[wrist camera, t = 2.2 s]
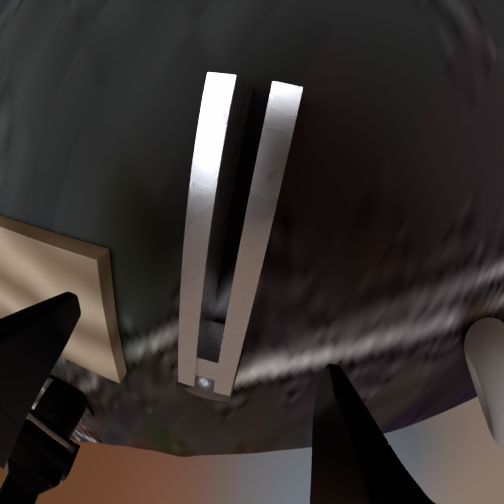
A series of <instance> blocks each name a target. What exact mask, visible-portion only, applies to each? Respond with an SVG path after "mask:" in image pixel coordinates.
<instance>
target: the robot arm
mask: <svg viewBox="0 0 504 504" xmlns="http://www.w3.org/2000/svg"><path fill="white" fill-rule="evenodd" d="M80 316H81V309H80V304H79V300H78V296H77V295H76V294H74V293H72V292H64V293H62V294H59V295H57V296H54V297H52V298H49V299H47V300H44V301H42V302H39V303H37V304H34V305H32V306H29V307H27V308H25V309H22V310H20V311H17V312H15V313H12V314H10V315H8V316H5V317H3V318H0V467H2V468H3V469H4V467H5V472H6V477H5V479H4V481H3V483H2V485H1V487H0V504H35V502H36V499H37V497H38V495H39V494H41V493H43V492H45V491H47V490H49V489H52V488H54V487H56V486H58V485H59V483H60V481H61V480H62V481H64V480H65V479H66V477H67V476H68V474H69V472H70V470H71V468H72V465H73V462H74V460H75V458H76V455H77V453H78V450H79V448H80V445H78V444H77V443H74V442H73V441H72V440H70V437H71V435H72V434H73V432H74V430H75V428H76V426H77V425H78V423H79V421H80V419H81V417H82V416H83V414H86V415H88V416H90V417H93V416H94V414H93V413H92V411H91V409H90V407H89V405H88V403H87V401H86V399H85V397H84V395H83V394H82V393H81V392H80V391H78V390H76V389H74V388H72V387H70V386H68V385H66V384H65V383H63V382H61V381H59V380H57V379H56V378H54V377H52V376H50V375H49V374H50V372H51V371H52V369H53V367H54V366H55V364H56V362H57V360H58V359H59V357H60V355H61V354H62V352H63V350H64V349H65V347H66V345H67V343H68V341H69V338H70V336H71V334H72V332H73V330H74V328H75V326H76V324H77V322H78V320H79V318H80ZM46 380H47V381H48V382H49V384H50V385H49V386H48V388H47V389H46V391H45V392H44V394H43V395H42V396H41V398H40V399H39V402H38V404H37V405H36V407H35V409H34V410H32V409H31V408H32V406H33V404H34V402H35V400H36V398H37V396H38V394H39V392H40V390H41V389H42V387H43V385H44V383H45V381H46ZM27 417H28V418H30V419H31V420H32V421H33V422H34V423H36V424H37V425H38V426H39V427H40V428H42V429H43V430H44V431H45V432H47V433H48V434H49V435H51V436H52V437H53V438H55V439H56V440H57V441H59V442H60V443H61V444H60V443H59V442H57V441H56V440H54V439H53V438H52V437H51V436H49V435H48V434H47V433H45V432H44V431H43V430H41V429H40V428H39V427H38V426H37V425H35V424H34V423H33V422H32V421H31V420H29V419H28V420H27V419H26V418H27ZM62 444H63V445H64V446H66V447H67V448H68V449H67V448H66V447H64V446H63V445H62ZM310 504H435V503H434V502H433V501H431V500H430V499H429V498H428V496H427V495H426V494H425V493H424V492H423V491H422V489H421V488H420V487H419V485H418V484H417V483H416V481H415V480H414V479H413V478H412V476H411V475H410V474H409V473H408V471H407V470H406V469H405V467H404V466H403V464H402V463H401V462H400V460H399V459H398V457H397V455H396V454H395V452H394V451H393V449H392V447H391V446H390V445H389V444H388V441H387V439H386V438H385V436H384V435H383V433H382V431H381V430H380V428H379V427H378V425H377V423H376V422H375V420H374V419H373V417H372V415H371V414H370V412H369V411H368V409H367V407H366V406H365V404H364V403H363V401H362V399H361V398H360V396H359V395H358V393H357V391H356V390H355V388H354V387H353V385H352V383H351V382H350V380H349V379H348V377H347V376H346V374H345V372H344V371H343V369H342V368H341V366H339V365H335V364H328V365H327V366H326V367H325V369H324V371H323V373H322V374H321V376H320V378H319V380H318V384H317V393H316V401H315V409H314V416H313V430H312V470H311V491H310Z"/></svg>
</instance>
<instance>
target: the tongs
mask: <svg viewBox="0 0 504 504" xmlns="http://www.w3.org/2000/svg"><path fill="white" fill-rule="evenodd" d="M252 89H253V86H252V85H250V84H249V83H247V82H246V81H244V80H243V79H241V78H240V77H238V76H237V75H231V74H223V73H213V72H207V77H206V82H205V87H204V93H203V98H202V104H201V110H200V116H199V122H198V128H197V135H196V141H195V148H194V155H193V162H192V170H191V178H190V186H189V195H188V204H187V213H186V224H185V234H184V246H183V259H182V274H181V290H180V311H179V343H178V376H177V390H178V391H180V392H184V393H187V394H190V395H194V396H197V397H201V398H204V399H208V400H212V401H216V402H220V403H224V404H228V405H229V403H230V400H231V396H232V392H233V388H234V384H235V380H236V376H237V372H238V368H239V364H240V359H241V355H242V351H243V348H242V346H243V342H244V338H245V334H246V330H247V326H248V322H249V318H250V314H251V310H252V306H253V302H254V297H255V293H256V289H257V285H258V281H259V277H260V273H261V269H262V265H263V260H264V256H265V252H266V248H267V244H268V239H269V235H270V231H271V227H272V222H273V218H274V214H275V210H276V205H277V201H278V197H279V193H280V188H281V184H282V179H283V175H284V171H285V166H286V162H287V158H288V153H289V149H290V144H291V140H292V135H293V131H294V126H295V122H296V117H297V113H298V108H299V104H300V99H301V95H302V90H303V87H300V86H295V85H291V84H286V83H281V82H276V81H272V86H271V91H270V95H269V100H268V105H267V110H266V115H265V119H264V124H263V129H262V134H261V139H260V144H259V149H258V154H257V159H256V164H255V169H254V174H253V179H252V184H251V189H250V194H249V199H248V205H247V210H246V215H245V220H244V225H243V231H242V236H241V241H240V246H239V252H238V257H237V262H236V268H235V273H234V278H233V284H232V289H231V295H230V300H229V306H228V311H227V317H226V322H225V325H224V324H220V323H216V322H213V316H214V309H215V302H216V295H217V289H218V282H219V275H220V269H221V262H222V256H223V250H224V243H225V237H226V231H227V225H228V219H229V213H230V207H231V201H232V195H233V190H234V184H235V178H236V173H237V167H238V162H239V156H240V151H241V145H242V140H243V135H244V130H245V124H246V119H247V114H248V109H249V104H250V99H251V94H252Z"/></svg>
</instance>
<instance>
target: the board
mask: <svg viewBox="0 0 504 504" xmlns="http://www.w3.org/2000/svg"><path fill="white" fill-rule="evenodd" d="M64 292H72V293H74V294H76V295H77V296H78V300H79V304H80V309H81V316H80V318H79V320H78V322H77V324H76V326H75V328H74V330H73V332H72V334H71V336H70V338H69V341H68V343H67V345H66V347H65V349H64V350H63V352H62V354H61V355H60V356H62V357H64V358H66V359H68V360H70V361H72V362H74V363H76V364H78V365H80V366H82V367H84V368H86V369H88V370H90V371H92V372H94V373H97V374H99V375H101V376H103V377H106V378H108V379H110V380H112V381H115V382H117V383H121V381H122V380H123V378H124V376H125V374H126V373H127V371H126V366H125V361H124V356H123V351H122V346H121V341H120V335H119V329H118V323H117V316H116V309H115V302H114V293H113V285H112V275H111V263H110V250H109V249H108V248H104V247H101V246H97V245H94V244H90V243H87V242H83V241H80V240H77V239H73V238H70V237H67V236H63V235H60V234H57V233H54V232H50V231H47V230H44V229H41V228H38V227H34V226H31V225H28V224H25V223H22V222H19V221H16V220H13V219H10V218H7V217H4V216H1V215H0V318H3V317H5V316H8V315H10V314H12V313H15V312H17V311H20V310H22V309H25V308H27V307H29V306H32V305H34V304H37V303H39V302H42V301H44V300H47V299H49V298H52V297H54V296H57V295H59V294H62V293H64Z"/></svg>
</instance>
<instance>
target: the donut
mask: <svg viewBox="0 0 504 504" xmlns="http://www.w3.org/2000/svg"><path fill="white" fill-rule="evenodd" d="M464 353H465V357H466V361H467V365H468V368H469V371H470V374H471V377H472V380H473V383H474V387H475V390H476V393H477V396H478V399H479V401H480V405H481V408H482V411H483V413H484V416H485V419H486V422H487V425H488V428H489V430H490V433H491V435H492V437H493V439H494V441H495V442H496V443H497V444H499V445H500V446H503V447H504V323H503V322H502V321H500V320H498V319H495V318H482V319H480V320H478V321H476V322H475V323H474V324H473V325H472V326H471V327H470V328H469V330H468V332H467V334H466V337H465V341H464Z"/></svg>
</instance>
